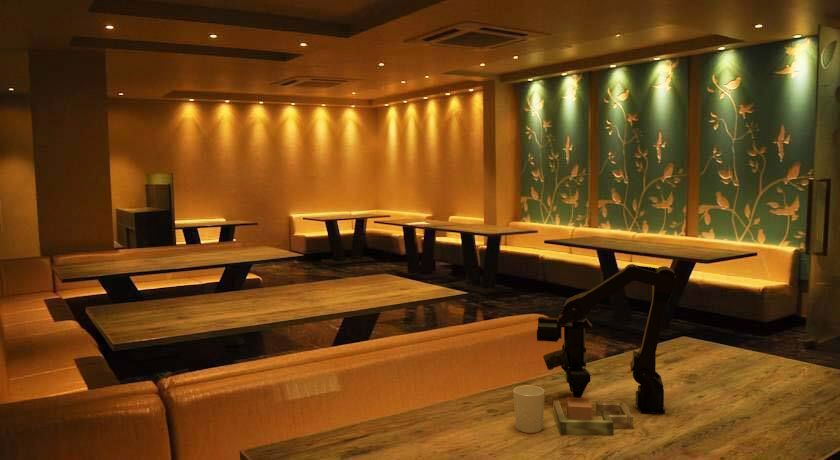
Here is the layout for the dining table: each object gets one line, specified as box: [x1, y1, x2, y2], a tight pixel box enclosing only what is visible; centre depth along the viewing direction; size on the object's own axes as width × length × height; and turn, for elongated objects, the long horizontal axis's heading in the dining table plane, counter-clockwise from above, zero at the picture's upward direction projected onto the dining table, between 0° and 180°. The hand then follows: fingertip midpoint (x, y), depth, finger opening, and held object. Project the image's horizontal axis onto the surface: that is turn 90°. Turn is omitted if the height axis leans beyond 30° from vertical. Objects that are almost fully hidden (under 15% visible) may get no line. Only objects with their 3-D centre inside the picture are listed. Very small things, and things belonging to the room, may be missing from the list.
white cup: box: [512, 385, 545, 434], centre depth 171 cm, size 8×8×10 cm
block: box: [566, 396, 593, 420], centre depth 179 cm, size 6×7×4 cm
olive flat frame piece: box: [552, 400, 634, 436], centre depth 174 cm, size 19×16×3 cm
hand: (574, 396), depth 188 cm, fingers open, 8 cm apart
